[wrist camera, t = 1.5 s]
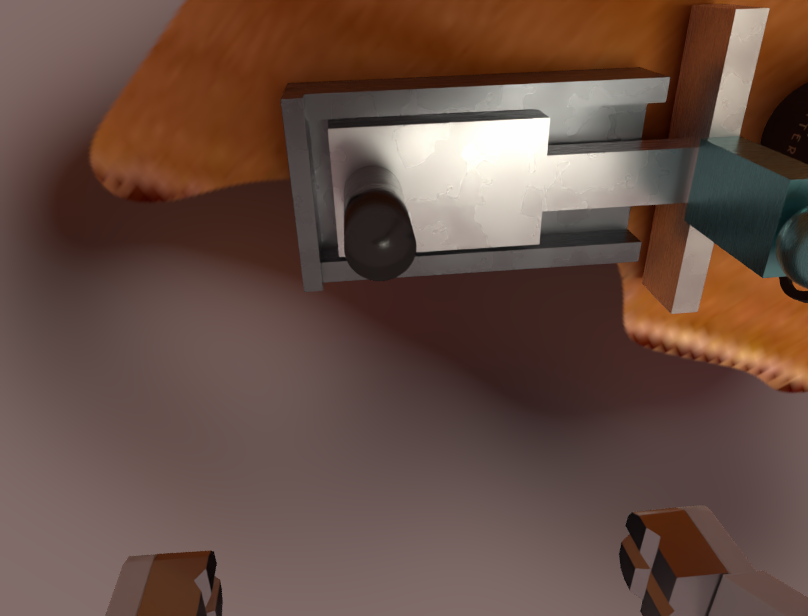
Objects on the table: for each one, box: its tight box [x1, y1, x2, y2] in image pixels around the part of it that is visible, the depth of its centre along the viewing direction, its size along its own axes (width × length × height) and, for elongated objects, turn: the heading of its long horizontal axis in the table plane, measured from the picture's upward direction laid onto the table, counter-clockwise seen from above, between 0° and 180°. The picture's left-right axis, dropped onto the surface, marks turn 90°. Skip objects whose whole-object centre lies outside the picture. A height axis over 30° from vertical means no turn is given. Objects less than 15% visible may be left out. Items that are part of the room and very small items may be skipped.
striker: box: [328, 4, 808, 314], centre depth 28 cm, size 21×16×15 cm
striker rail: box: [281, 67, 670, 292], centre depth 33 cm, size 19×10×4 cm, turn 92°
